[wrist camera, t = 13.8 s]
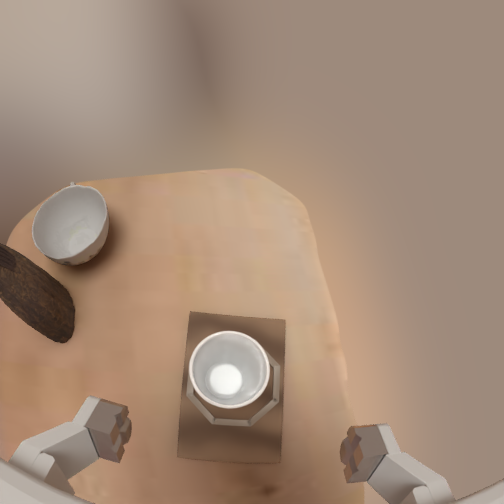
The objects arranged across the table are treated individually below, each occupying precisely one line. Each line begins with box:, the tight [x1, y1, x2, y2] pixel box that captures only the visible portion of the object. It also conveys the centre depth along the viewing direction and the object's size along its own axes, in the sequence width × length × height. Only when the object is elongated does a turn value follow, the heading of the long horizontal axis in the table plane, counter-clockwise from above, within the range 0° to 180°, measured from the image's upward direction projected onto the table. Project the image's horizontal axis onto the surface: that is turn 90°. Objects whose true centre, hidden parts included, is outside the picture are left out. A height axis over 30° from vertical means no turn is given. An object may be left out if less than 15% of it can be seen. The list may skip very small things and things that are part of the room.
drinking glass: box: [189, 331, 270, 409], centre depth 30 cm, size 7×7×15 cm
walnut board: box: [177, 311, 285, 463], centre depth 36 cm, size 20×13×2 cm, turn 177°
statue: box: [0, 243, 75, 343], centre depth 28 cm, size 9×8×25 cm
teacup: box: [32, 182, 109, 265], centre depth 41 cm, size 15×12×8 cm
